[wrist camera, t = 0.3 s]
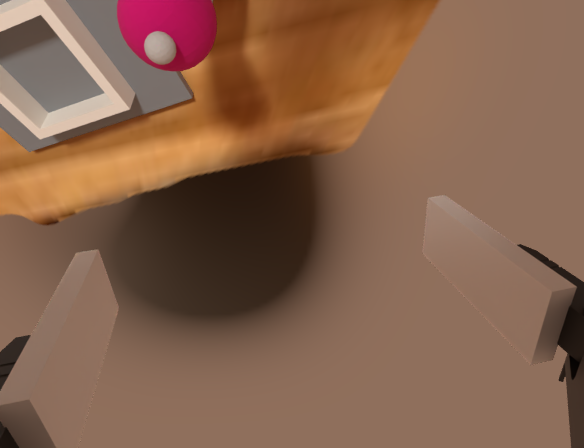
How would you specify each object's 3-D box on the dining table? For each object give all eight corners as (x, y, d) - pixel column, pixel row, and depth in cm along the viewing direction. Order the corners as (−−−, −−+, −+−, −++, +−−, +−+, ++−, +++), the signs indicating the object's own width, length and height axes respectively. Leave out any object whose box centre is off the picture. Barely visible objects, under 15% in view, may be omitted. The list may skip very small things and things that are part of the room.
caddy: (-119, 15, 38) (-144, 35, 36) (86, -82, 33) (72, -66, 31) (31, 146, 52) (20, 168, 50) (193, 93, 47) (189, 113, 44)
